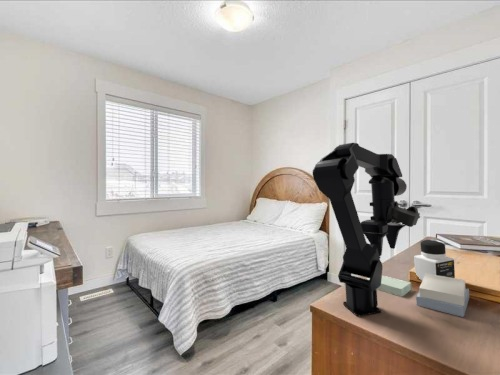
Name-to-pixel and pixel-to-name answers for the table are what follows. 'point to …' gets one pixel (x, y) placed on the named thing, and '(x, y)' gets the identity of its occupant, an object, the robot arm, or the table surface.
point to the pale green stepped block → (394, 286)
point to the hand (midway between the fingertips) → (386, 251)
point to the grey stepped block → (443, 294)
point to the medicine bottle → (433, 260)
